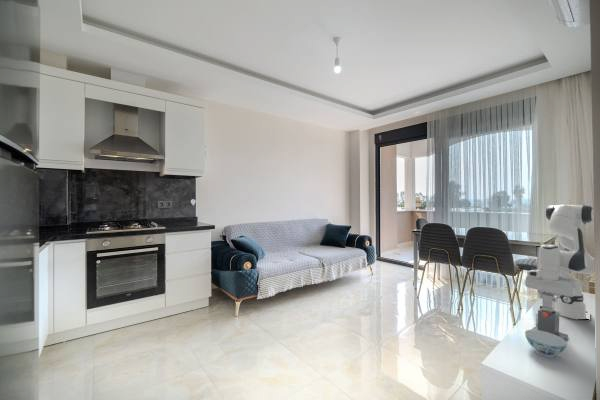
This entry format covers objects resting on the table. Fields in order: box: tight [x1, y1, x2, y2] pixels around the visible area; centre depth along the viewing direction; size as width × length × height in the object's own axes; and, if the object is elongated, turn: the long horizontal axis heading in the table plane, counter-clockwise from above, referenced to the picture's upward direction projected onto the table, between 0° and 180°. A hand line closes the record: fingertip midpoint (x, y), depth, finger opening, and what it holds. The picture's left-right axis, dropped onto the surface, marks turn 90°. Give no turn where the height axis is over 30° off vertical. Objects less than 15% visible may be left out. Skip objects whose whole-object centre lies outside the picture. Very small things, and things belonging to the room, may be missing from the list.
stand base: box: [530, 308, 569, 341], centre depth 147 cm, size 13×13×14 cm
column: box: [541, 291, 556, 314], centre depth 147 cm, size 5×5×22 cm
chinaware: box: [524, 329, 568, 358], centre depth 131 cm, size 15×15×8 cm
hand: (548, 299), depth 147 cm, fingers closed on column, 4 cm apart
